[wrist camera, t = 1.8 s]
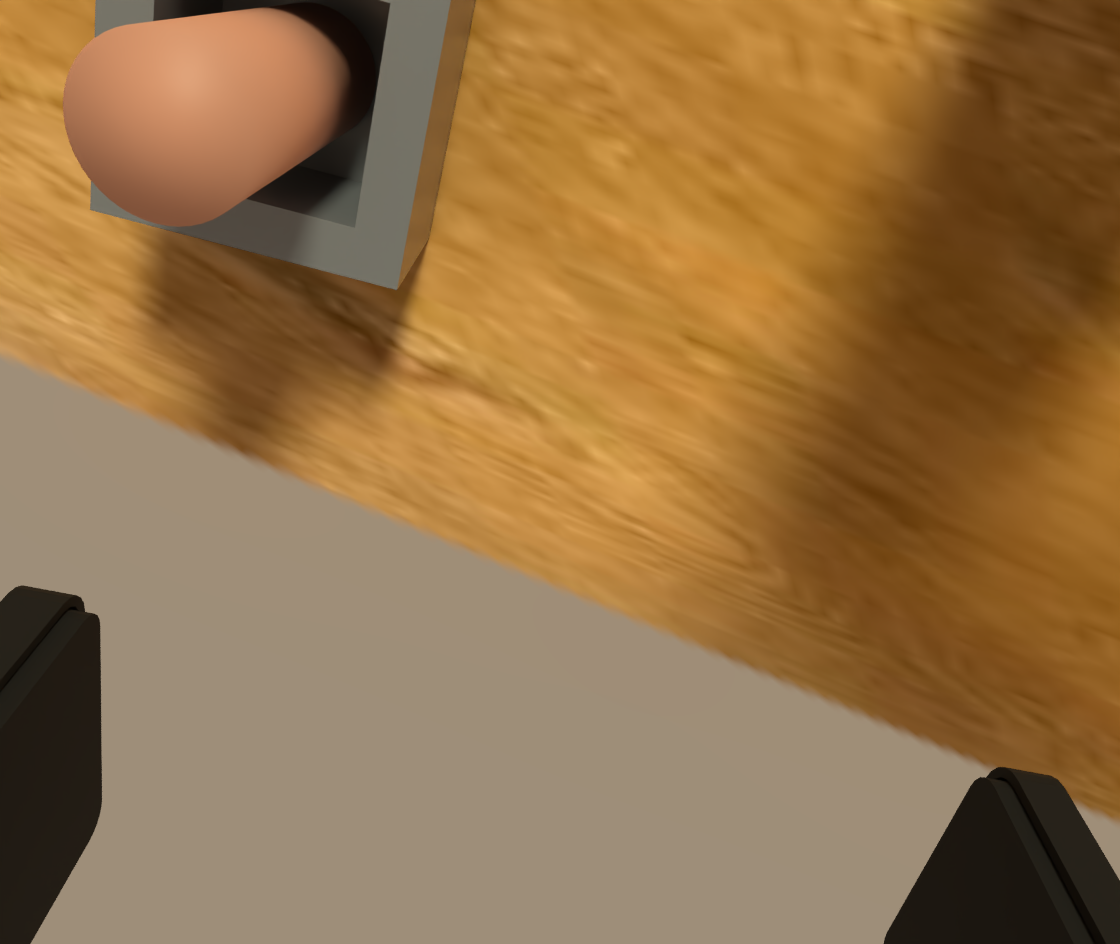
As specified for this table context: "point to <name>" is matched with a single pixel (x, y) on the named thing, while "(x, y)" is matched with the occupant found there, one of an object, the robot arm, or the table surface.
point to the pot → (347, 145)
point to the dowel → (213, 105)
